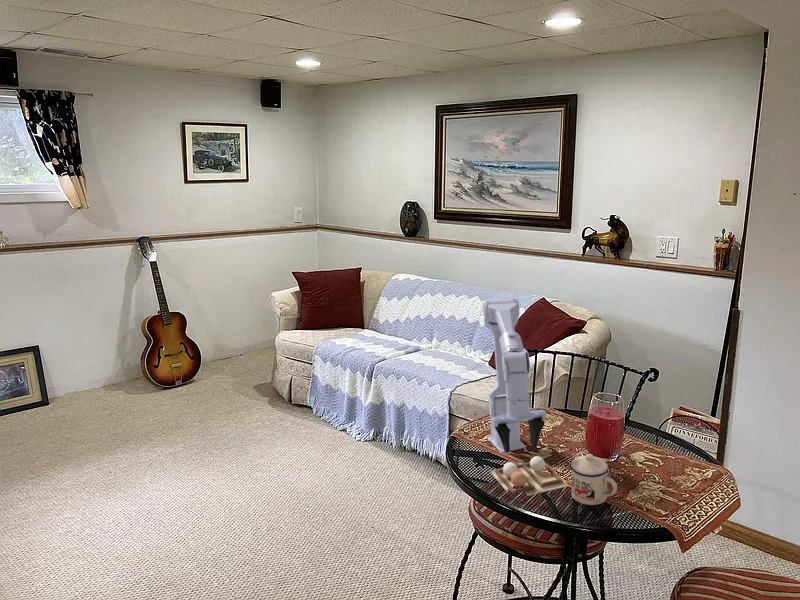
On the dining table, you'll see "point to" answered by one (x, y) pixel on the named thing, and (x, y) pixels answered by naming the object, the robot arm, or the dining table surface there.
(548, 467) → the trough board
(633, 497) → the dining table surface
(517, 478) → the ball terracotta
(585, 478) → the teacup with lid
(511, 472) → the cream ball
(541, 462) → the cream ball
